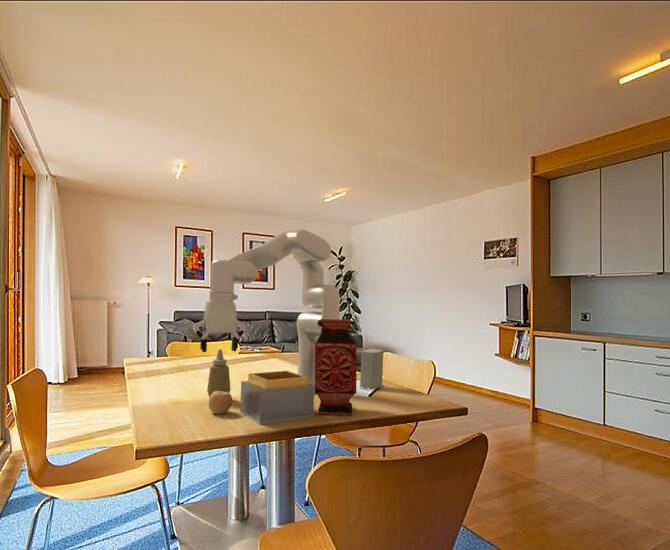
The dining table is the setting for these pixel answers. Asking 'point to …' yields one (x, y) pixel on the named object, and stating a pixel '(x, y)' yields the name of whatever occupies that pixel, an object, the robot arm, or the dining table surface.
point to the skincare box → (371, 368)
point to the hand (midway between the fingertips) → (219, 351)
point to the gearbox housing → (276, 397)
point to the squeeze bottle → (219, 375)
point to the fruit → (220, 402)
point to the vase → (335, 367)
